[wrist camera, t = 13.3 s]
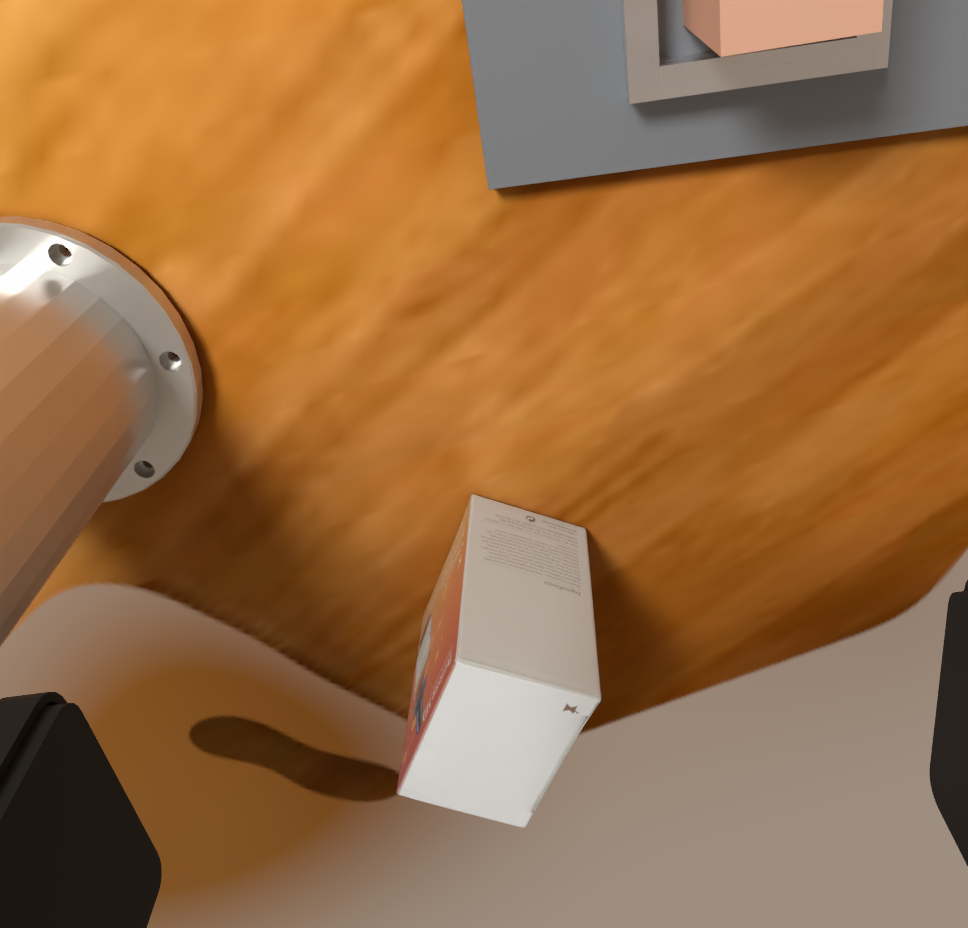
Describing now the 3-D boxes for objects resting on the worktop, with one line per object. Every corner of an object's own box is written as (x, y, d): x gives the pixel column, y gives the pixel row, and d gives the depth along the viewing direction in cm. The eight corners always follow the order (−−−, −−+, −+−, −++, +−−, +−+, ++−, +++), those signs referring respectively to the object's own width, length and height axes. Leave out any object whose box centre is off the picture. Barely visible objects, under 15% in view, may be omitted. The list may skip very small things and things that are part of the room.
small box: (471, 488, 41) (455, 655, 32) (589, 525, 42) (605, 698, 33) (419, 618, 45) (391, 798, 36) (527, 649, 46) (526, 833, 37)
